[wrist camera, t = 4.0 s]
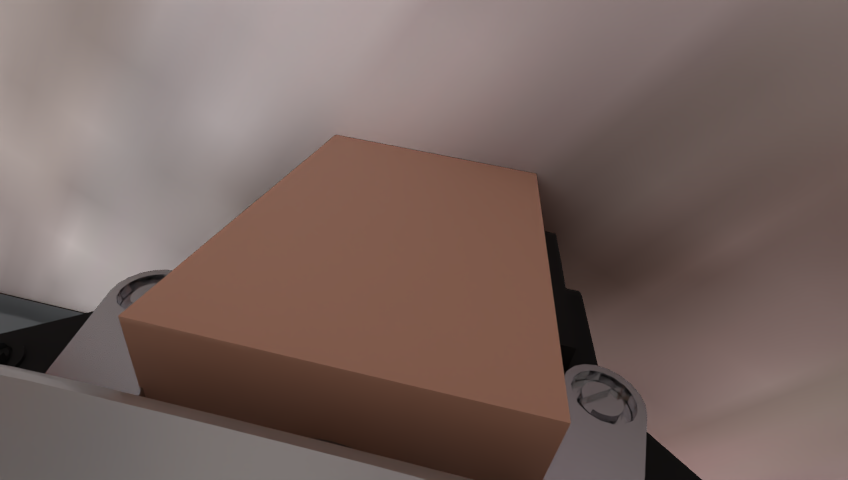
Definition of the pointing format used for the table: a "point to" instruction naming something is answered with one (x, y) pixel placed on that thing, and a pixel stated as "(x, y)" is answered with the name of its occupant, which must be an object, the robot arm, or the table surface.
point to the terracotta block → (372, 314)
